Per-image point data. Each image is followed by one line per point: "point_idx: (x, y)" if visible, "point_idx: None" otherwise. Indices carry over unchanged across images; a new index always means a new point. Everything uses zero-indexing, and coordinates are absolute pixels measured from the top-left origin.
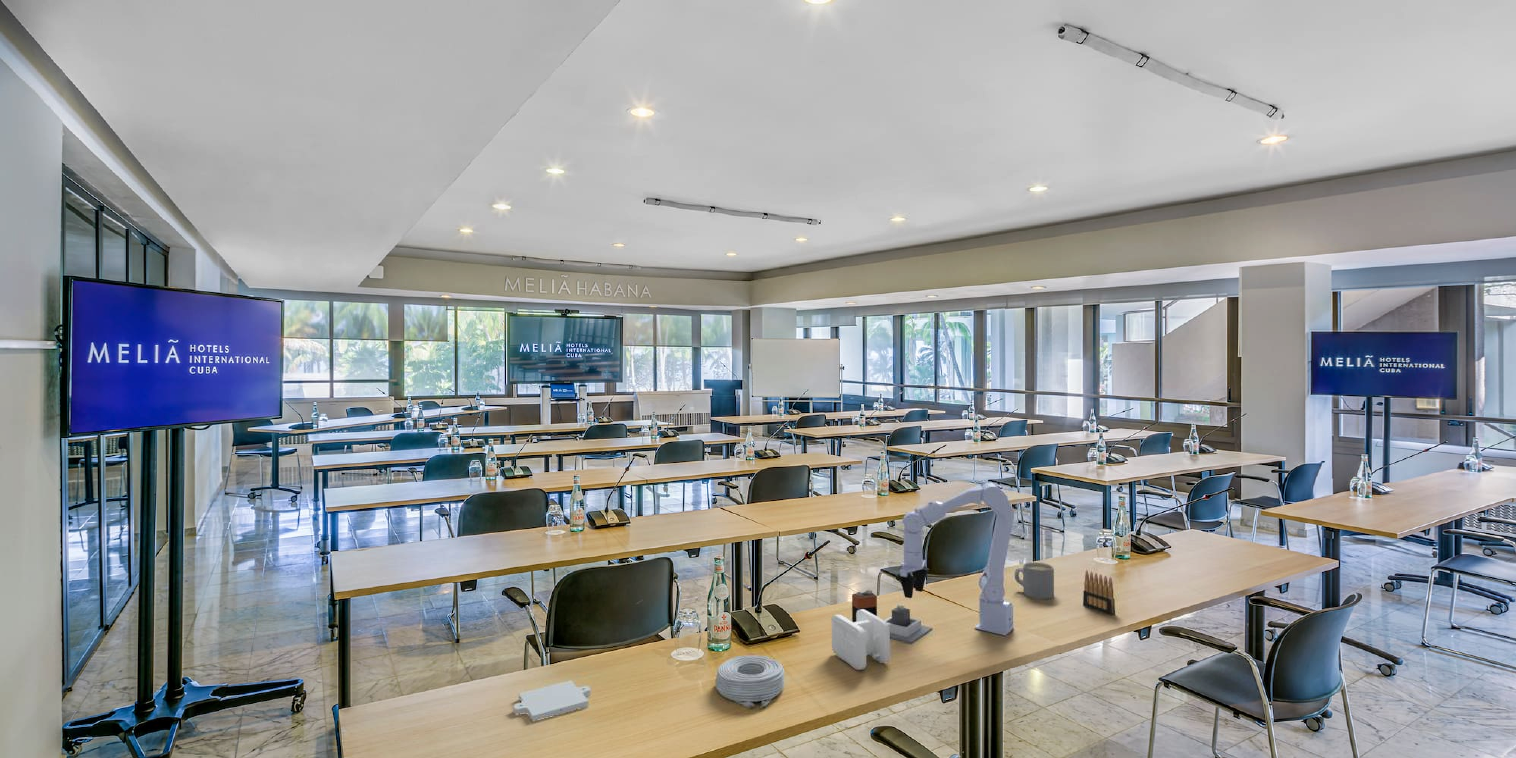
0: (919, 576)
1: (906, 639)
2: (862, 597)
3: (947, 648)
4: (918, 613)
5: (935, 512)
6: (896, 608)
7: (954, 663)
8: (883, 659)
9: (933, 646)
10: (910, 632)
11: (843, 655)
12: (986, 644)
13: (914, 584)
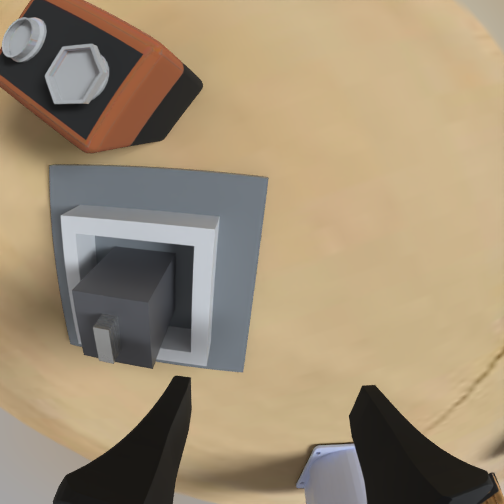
0: (384, 492)
1: (74, 325)
2: (6, 87)
3: (122, 420)
4: (409, 265)
5: None
6: (113, 304)
7: (64, 431)
8: None
9: (105, 393)
10: None
11: None
12: (215, 472)
13: (378, 411)
